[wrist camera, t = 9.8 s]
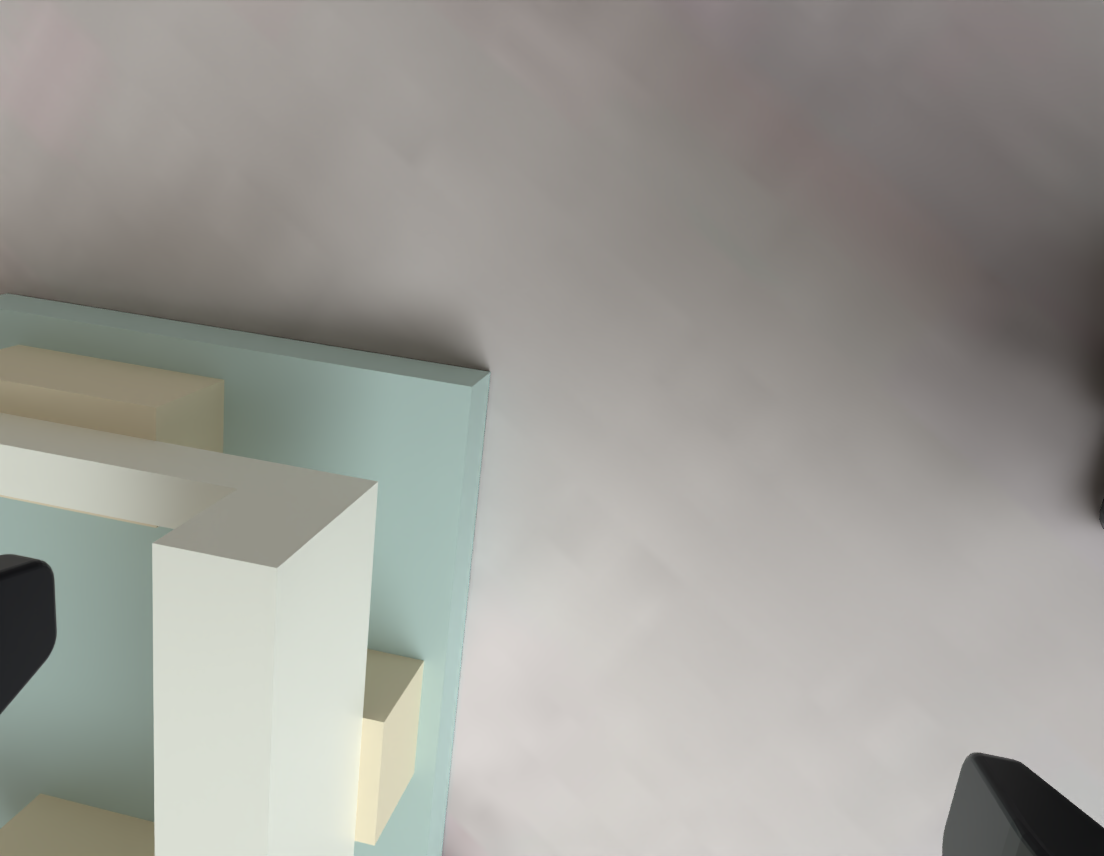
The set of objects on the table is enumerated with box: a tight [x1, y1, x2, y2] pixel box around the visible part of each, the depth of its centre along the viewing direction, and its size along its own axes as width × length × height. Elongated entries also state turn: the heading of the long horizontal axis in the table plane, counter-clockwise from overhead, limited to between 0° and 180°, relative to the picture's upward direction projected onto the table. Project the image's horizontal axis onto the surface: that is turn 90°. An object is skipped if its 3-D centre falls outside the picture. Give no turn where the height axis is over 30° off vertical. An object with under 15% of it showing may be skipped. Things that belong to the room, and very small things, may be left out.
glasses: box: [0, 413, 378, 856], centre depth 18 cm, size 10×13×4 cm
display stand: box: [0, 294, 491, 856], centre depth 22 cm, size 12×16×4 cm
